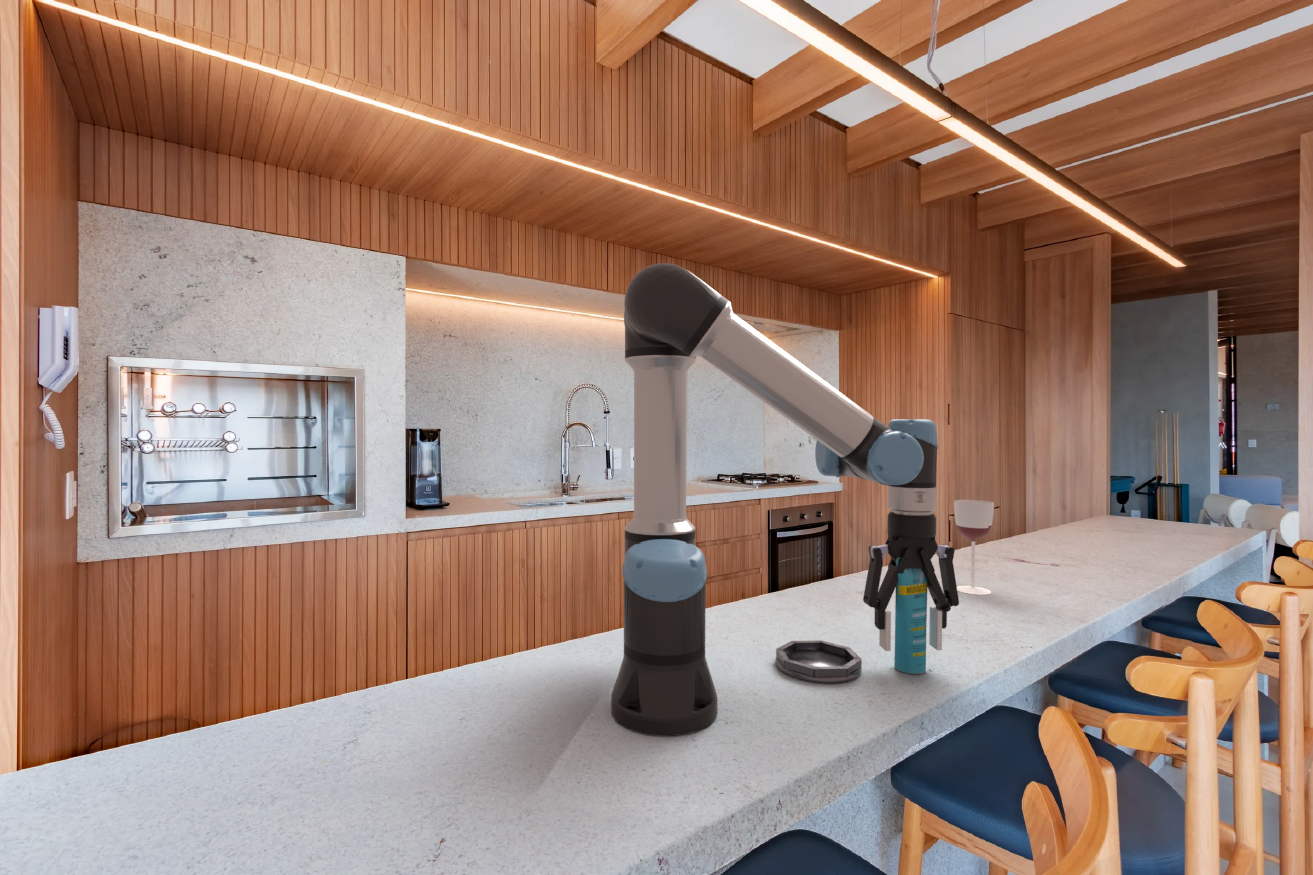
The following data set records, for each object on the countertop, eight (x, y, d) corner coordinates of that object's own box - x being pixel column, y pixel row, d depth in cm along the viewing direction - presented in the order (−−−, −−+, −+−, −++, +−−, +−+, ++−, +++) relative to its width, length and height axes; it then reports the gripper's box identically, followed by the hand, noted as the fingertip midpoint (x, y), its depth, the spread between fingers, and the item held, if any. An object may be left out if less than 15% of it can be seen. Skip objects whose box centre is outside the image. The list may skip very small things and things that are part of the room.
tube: (909, 678, 100) (910, 560, 100) (883, 668, 104) (885, 554, 104) (936, 668, 104) (938, 555, 104) (910, 659, 108) (912, 550, 108)
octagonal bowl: (787, 684, 98) (788, 670, 98) (767, 652, 112) (767, 640, 112) (875, 683, 99) (875, 669, 98) (843, 651, 112) (844, 638, 112)
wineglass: (960, 594, 151) (961, 503, 150) (948, 584, 160) (949, 499, 160) (998, 596, 149) (1000, 504, 149) (984, 585, 159) (985, 500, 158)
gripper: (858, 515, 99) (857, 657, 100) (985, 514, 100) (983, 654, 101) (842, 509, 107) (841, 640, 107) (960, 508, 108) (958, 639, 108)
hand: (910, 647), depth 104 cm, fingers open, 8 cm apart
